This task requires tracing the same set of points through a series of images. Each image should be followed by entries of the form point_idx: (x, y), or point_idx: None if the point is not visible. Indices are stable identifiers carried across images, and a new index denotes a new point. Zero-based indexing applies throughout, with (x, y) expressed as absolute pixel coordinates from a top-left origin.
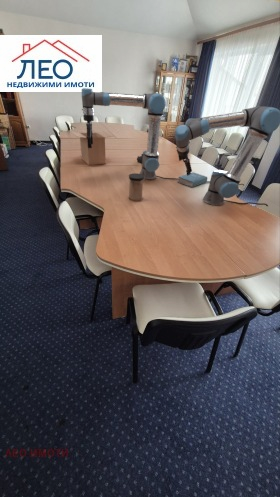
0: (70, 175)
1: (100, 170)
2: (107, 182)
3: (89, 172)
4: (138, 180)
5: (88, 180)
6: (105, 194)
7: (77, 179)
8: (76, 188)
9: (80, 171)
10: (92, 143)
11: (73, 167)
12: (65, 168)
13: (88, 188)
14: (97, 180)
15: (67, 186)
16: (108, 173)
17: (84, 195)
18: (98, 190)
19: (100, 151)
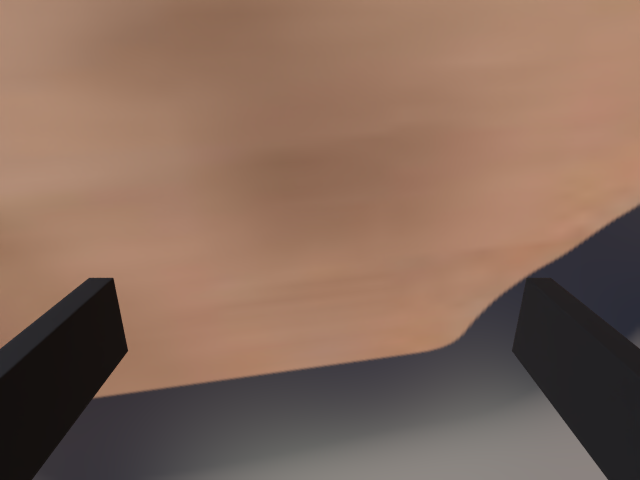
0: (210, 343)
1: (6, 111)
2: (348, 24)
3: (100, 212)
4: None
5: (307, 204)
6: (636, 38)
7: (292, 287)
8: (478, 273)
9: None
10: (106, 295)
11: None
12: None
13: (486, 189)
14: (301, 127)
15: (436, 332)
16: (76, 18)
17: (619, 206)
18: (538, 105)
19: None
